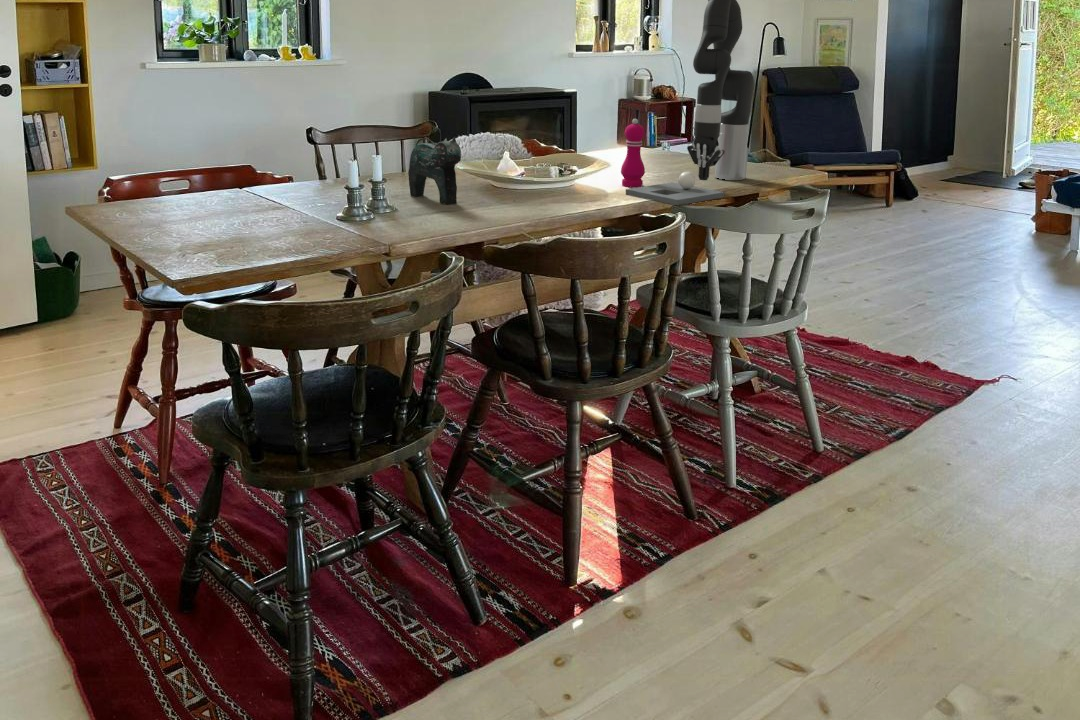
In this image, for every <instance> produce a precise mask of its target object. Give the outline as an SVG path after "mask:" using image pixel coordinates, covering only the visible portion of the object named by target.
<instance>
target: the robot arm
mask: <svg viewBox="0 0 1080 720" xmlns="http://www.w3.org/2000/svg"><path fill="white" fill-rule="evenodd" d="M741 10H742V9H741V7H740V4H739V2H738V1H737V0H707V4H706V6H705V9H704V14H703V21H702V22H703V24H702V32H701V37H700V38H701V39H700V42H699V44H698V46H697V50H696V52H695V54H694V58H693V62H692V63H693V64H692V66H693V69H694V71H695V72H696V73H697V74H700V75H714V78H715V79H714V80H712V81H708V82H703V83H700V84H699V85H698V87H697V96H696V97H697V98H696V107H695V113H694V124H693V136H694V140H693V143H692V144H691V145H687V146H686V150H687V151H688V154H689V156H690V158H691V160H692V163H693V164H694V165H697V166H698V178H699V179H698V180H699V181H708V179H709V176H710V168H711V167H714V166H715V171H714V178H715V177H716V178H715V179H717V178H719V179H718V180H722V179H725V180H724V181H742V180H745V179H746V178H747V171H748V169H747V168H748V155H749V147H748V145H747V144H748V137H749V136H748V135H749V134H748V133H749V122H750V121H749V120H750V116H751V111H752V103H753V95H754V87H755V81H754V79H755V78H754V75H753V72H751V71H749V70H739V69H738V70H737V69H731V67H730V66H731V64H732V56H731V55H732V52H733V50H734V48H735V46H736V45H737V43H738V42H739V39H740V37H741V35H742V33H743V20H742V17H743V16H742V11H741ZM711 45H712V47H713V48H709V47H710V46H711ZM722 100H723V101H730V102H731V101H733V102H735V103H736V104H735V106H734V108H732V109H730V110H727V111H723V112H722Z"/></svg>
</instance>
